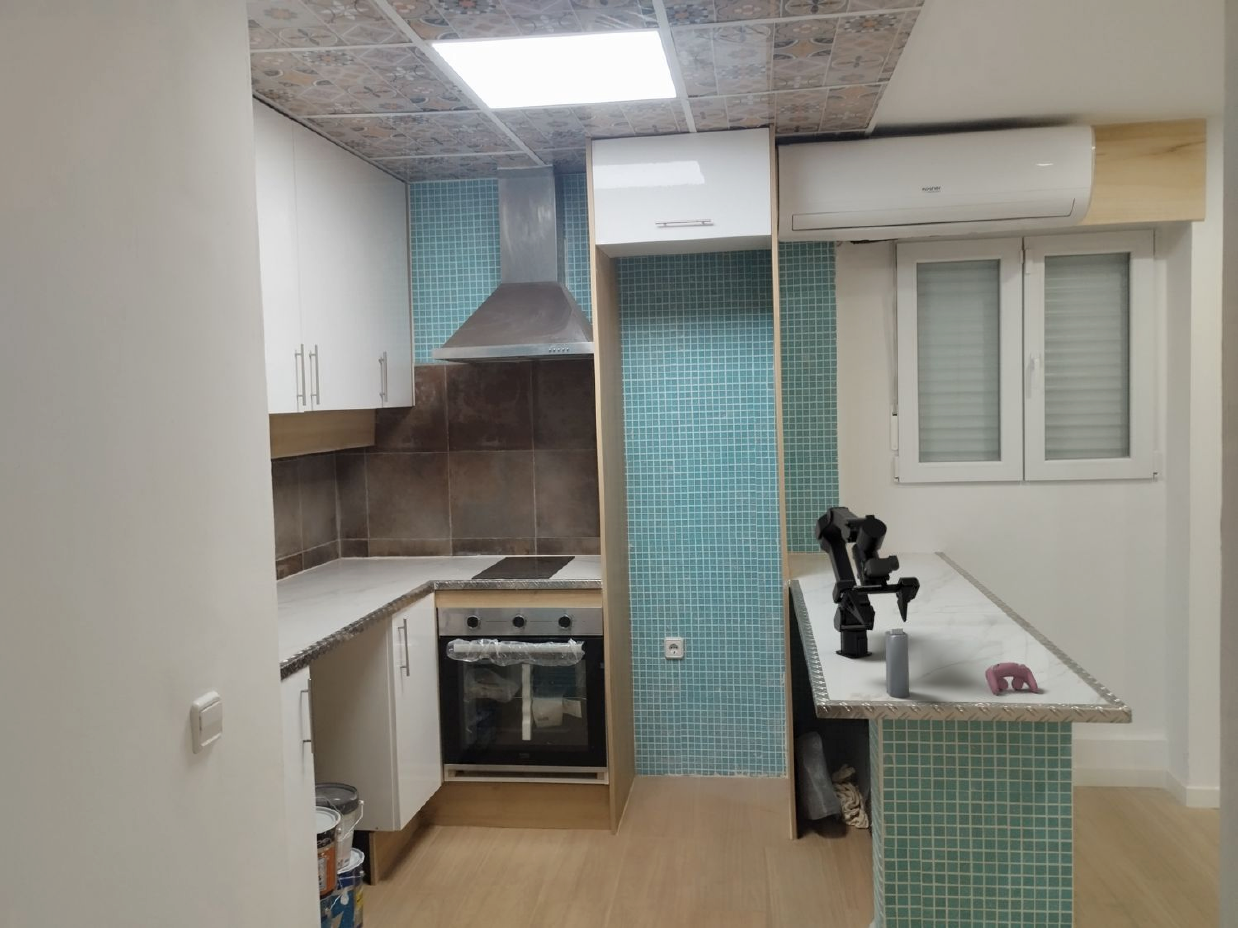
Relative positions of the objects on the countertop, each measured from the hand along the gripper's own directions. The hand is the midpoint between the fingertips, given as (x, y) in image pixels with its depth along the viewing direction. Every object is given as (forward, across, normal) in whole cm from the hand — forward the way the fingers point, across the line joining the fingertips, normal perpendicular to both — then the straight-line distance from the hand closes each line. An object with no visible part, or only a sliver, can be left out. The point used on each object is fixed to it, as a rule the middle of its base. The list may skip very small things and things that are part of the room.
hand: (884, 622), depth 222 cm
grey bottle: (+15, 0, +4) cm, 16 cm away
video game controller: (+17, +24, +2) cm, 29 cm away
